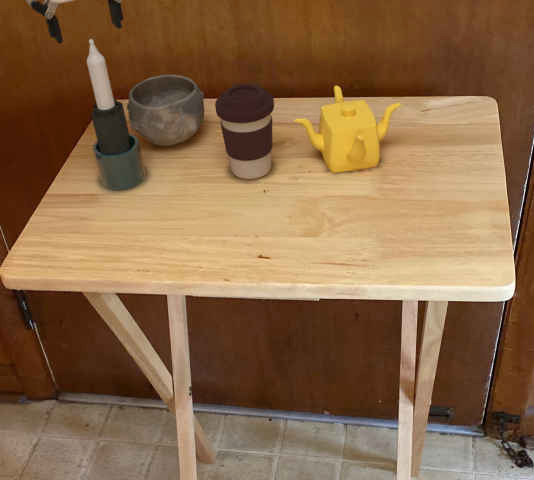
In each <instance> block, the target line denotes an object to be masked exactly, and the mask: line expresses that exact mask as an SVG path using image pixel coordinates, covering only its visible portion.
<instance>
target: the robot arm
mask: <svg viewBox="0 0 534 480" xmlns="http://www.w3.org/2000/svg"><path fill="white" fill-rule="evenodd" d="M24 1H25V2H26V3H27V5H28V6H30V8H31V9H32V10H33V11H35V12H36V13H38V14H40V15H42V16H43V17H44V18H45V22H46V26H47V30H48V34H49V37H50V38H54V39H55V41H56V42H57V44H59V45H60V44H62V43H64V39H63V35H62V31H61V28H60V23H59V19H58V17H57V16H56V14H55V13H56V11H57V9H58V8H59V5H60V4H65V3H70V2H75V1H76V0H43V3H42V2H41V1H39V0H24ZM122 1H123V0H107V4H108V10H109V14H110V19H111V24H112V25H113V26H114V27H115V28H116V29H117V30H118V29H119V30H120V29H122V28H123V26H122V25H123V24H122V21H124V13H123V9H122V8H123V7H122V3H121V2H122Z"/></svg>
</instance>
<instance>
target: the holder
mask: <svg viewBox="0 0 534 480" xmlns="http://www.w3.org/2000/svg"><path fill="white" fill-rule="evenodd" d="M129 136H130V141H131V145H132V148H131V149H129V150H128V151H126V152H123V153H120V154H114V155H107V154H102V153H100V149H99V145H98V140H97V139H96V141H94V142H93V144H92V153H93V156H94V160H95V164H96V169H97V172H98V177H99V179H100V181H101V185H102V186H103V188H105V189H107V190H111V191H127V190H130V189H134V188H135V187H137V186H139V185H141V184H142V183H143V182H144V181H145V179H146V171H145V169H146V168H145V164H144V160H143V155H142V150H141V146H140V140H139V138H138V137H137V136H136V135H134V134H132V133H130V132H129Z"/></svg>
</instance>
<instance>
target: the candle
mask: <svg viewBox="0 0 534 480" xmlns="http://www.w3.org/2000/svg"><path fill="white" fill-rule="evenodd" d="M94 40H95V39H92V38H90V39H89V40H88V44H89V49H88V56H87V59H86V65H87V69H88V74H89V77H90V81H91V85H92V90H93V94H94V98H95V102H96V103H94V104H93V106H92V110H91V120H92V124H93V128H94V133H95V137H96V141H97V140H98V145H99V149H100V153H102V154H107V155H114V154H120V153H123V152H126V151H128V150H129V149H131V148H132V145H131V141H130V136H129V133H130V131H129V127H128V123H127V119H126V114H125V109H124V104H123V102H121V101H118V100H117V99H114V95H113V90H112V86H111V81H110V77H109V72H108V67H107V64H106V59H105V57H104V56H103V55H102V53H100V51H99V50H98V48H97V47H96V45H95V41H94Z"/></svg>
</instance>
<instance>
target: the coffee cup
mask: <svg viewBox="0 0 534 480" xmlns="http://www.w3.org/2000/svg"><path fill="white" fill-rule="evenodd" d="M274 98H275V97H274V95H273V94H272V93H270V92H269V91H267V90H266V89H264V88H262V87H261V86H260V85H259V84H256V83H248V82H247V83H245V82H244V83H238V84H233V85H231V86H229V87H228V88H226V89H225V90H224V92H223V93H222V94H220V95H219V96H218V97H217V98H216V100H215V103H214V107H215V113H216V115H217V117H218V118H219V119H220V128H221V132H222V139H223V142H224V148H225V152H226V154H227V156H228V160H229V166H230V171H231V173H232V174H233V175H234V176H235V177H237V178H239V179H243V180H255V179H259V178H262V177H264V176H266V175H267V174H268V173H269V172H270V171H271V170H272V150H273V116H272V113H273V112H274V109H275V100H274Z"/></svg>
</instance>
